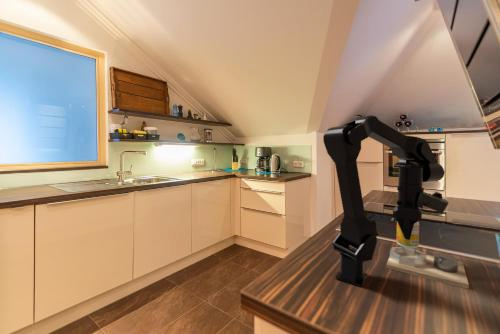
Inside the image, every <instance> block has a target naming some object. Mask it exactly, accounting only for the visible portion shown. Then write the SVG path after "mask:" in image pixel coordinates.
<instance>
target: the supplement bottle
mask: <svg viewBox="0 0 500 334" xmlns="http://www.w3.org/2000/svg"><path fill="white" fill-rule="evenodd" d="M395 240H396V244H397V245H399V247H407V248H412V249H416V248H418V247H419V242H420V221H418V222H416V223H415V224H414V226H413V230H412V233H411V237H410V240H406V239H405V238H404V236H403V233H402V231H401V229H400V226H399V224H398V222H397V221H396V239H395Z"/></svg>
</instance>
